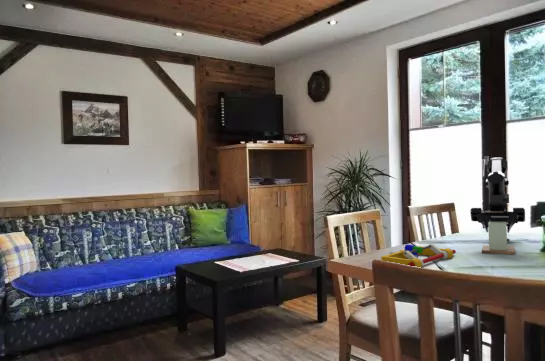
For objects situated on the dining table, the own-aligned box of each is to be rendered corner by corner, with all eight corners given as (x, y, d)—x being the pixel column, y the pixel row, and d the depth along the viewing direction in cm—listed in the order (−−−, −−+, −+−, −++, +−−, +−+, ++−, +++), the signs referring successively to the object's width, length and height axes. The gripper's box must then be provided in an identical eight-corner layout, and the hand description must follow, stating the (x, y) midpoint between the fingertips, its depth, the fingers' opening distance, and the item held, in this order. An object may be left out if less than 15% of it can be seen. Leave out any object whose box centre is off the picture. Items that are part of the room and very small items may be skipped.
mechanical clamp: (458, 240, 157) (414, 253, 137) (458, 257, 157) (415, 272, 137) (413, 236, 171) (368, 247, 151) (414, 251, 171) (369, 264, 151)
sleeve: (489, 247, 165) (488, 221, 165) (507, 247, 162) (506, 221, 162) (489, 249, 161) (488, 223, 161) (507, 250, 158) (506, 223, 158)
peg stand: (483, 247, 169) (482, 235, 169) (514, 249, 164) (514, 236, 164) (481, 253, 159) (481, 239, 159) (515, 254, 154) (514, 240, 154)
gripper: (469, 187, 169) (468, 218, 160) (523, 186, 160) (526, 219, 151) (472, 205, 176) (471, 236, 167) (523, 205, 167) (526, 237, 158)
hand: (497, 231), depth 160 cm, fingers open, 7 cm apart
